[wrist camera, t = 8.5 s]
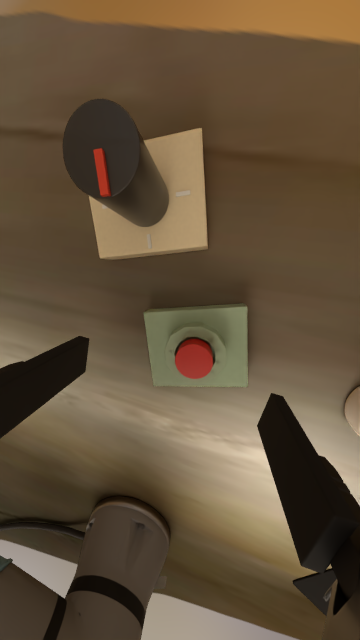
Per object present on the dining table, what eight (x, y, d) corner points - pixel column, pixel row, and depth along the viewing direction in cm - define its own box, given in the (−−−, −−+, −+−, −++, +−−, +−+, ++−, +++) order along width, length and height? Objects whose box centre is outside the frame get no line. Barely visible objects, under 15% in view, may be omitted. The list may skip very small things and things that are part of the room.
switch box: (157, 377, 27) (149, 394, 23) (148, 309, 25) (137, 315, 21) (244, 377, 25) (250, 396, 21) (244, 303, 23) (250, 309, 19)
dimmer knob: (117, 175, 19) (49, 104, 11) (166, 166, 18) (131, 82, 10) (125, 230, 20) (68, 201, 12) (171, 223, 19) (143, 189, 11)
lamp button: (179, 371, 22) (176, 379, 21) (176, 339, 21) (173, 344, 20) (213, 371, 22) (213, 379, 20) (211, 337, 21) (212, 343, 19)
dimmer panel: (112, 260, 24) (98, 258, 21) (98, 169, 22) (80, 152, 19) (208, 249, 22) (207, 245, 19) (202, 148, 20) (201, 125, 17)
